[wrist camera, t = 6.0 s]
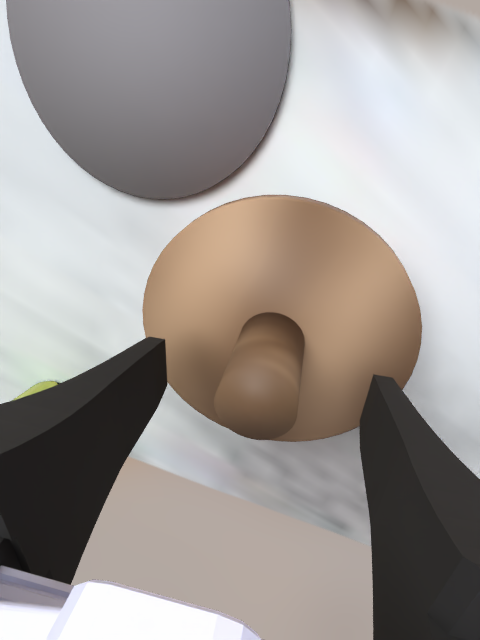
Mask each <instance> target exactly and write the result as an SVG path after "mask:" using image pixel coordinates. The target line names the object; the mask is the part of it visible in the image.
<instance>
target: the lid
mask: <svg viewBox="0 0 480 640" xmlns="http://www.w3.org/2000/svg"><path fill="white" fill-rule="evenodd" d="M143 325H144V330H145V335H146V338H147V337H155V338H161V339H165V343H166V365H167V382H168V383H169V384H170V386H171V387H172V388H173V389H174V390H175V391H176V393H177V394H178V395H179V396H180V397H181V398H182V399H183V400H184V401H186V402H187V403H188V404H189V405H190V406H192V407H193V408H194V409H195V410H197V411H198V412H200V413H201V414H203V415H204V416H206V417H207V418H209V419H210V420H212V421H214V422H216V423H218V424H220V425H222V426H224V427H226V428H229V429H230V430H232V431H233V432H235V433H237V434H239V435H241V436H244V437H247V438H251V439H256V440H274V441H290V442H297V441H311V440H317V439H323V438H328V437H331V436H335V435H339V434H342V433H344V432H347V431H349V430H352V429H354V428H356V427H358V426H360V418H361V414H362V411H363V407H364V404H365V401H366V397H367V394H368V391H369V387H370V384H371V381H372V377H373V374H374V375H380V376H386V377H392V378H393V379H394V380H395V381H396V383H397V384H398V385H399V387H400V388H401V390H402V389H403V388H404V386H405V385H406V383H407V381H408V380H409V378H410V376H411V374H412V372H413V369H414V367H415V364H416V362H417V359H418V355H419V350H420V346H421V334H422V323H421V313H420V307H419V304H418V300H417V296H416V293H415V290H414V288H413V286H412V284H411V281H410V279H409V277H408V275H407V273H406V271H405V269H404V267H403V265H402V263H401V262H400V260H399V259H398V257H397V256H396V254H395V253H394V251H393V250H392V249H391V248H390V247H389V245H388V244H387V243H386V242H385V241H384V240H383V239H382V238H381V237H380V236H379V235H378V234H377V233H376V232H375V231H373V230H372V229H371V228H370V227H369V226H367V225H366V224H365V223H364V222H362V221H360V220H359V219H357V218H355V217H354V216H352V215H351V214H349V213H347V212H345V211H343V210H341V209H338V208H336V207H334V206H331V205H329V204H327V203H323V202H320V201H316V200H312V199H309V198H304V197H297V196H289V195H262V196H255V197H247V198H243V199H239V200H236V201H232V202H229V203H226V204H223V205H221V206H219V207H217V208H214V209H212V210H210V211H208V212H207V213H205V214H203V215H202V216H200V217H199V218H197V219H196V220H194V221H193V222H191V223H190V224H189V225H188V226H187V227H185V228H184V229H183V230H182V231H181V232H180V233H178V234H177V235H176V236H175V237H174V238H173V239H172V240H171V241H170V243H169V244H168V245H167V246H166V247H165V248H164V250H163V251H162V252H161V254H160V256H159V257H158V259H157V261H156V262H155V264H154V266H153V268H152V271H151V273H150V275H149V278H148V281H147V285H146V289H145V293H144V301H143Z"/></svg>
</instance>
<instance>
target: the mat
mask: <svg viewBox="0 0 480 640" xmlns="http://www.w3.org/2000/svg"><path fill="white" fill-rule="evenodd" d="M6 4H7V19H8V26H9V32H10V39H11V44H12V48H13V52H14V56H15V60H16V64H17V67H18V70H19V73H20V76H21V78H22V81H23V84H24V86H25V89H26V91H27V93H28V95H29V98H30V100H31V102H32V104H33V106H34V108H35V110H36V111H37V113H38V115H39V117H40V119H41V120H42V122H43V124H44V125H45V126H46V128H47V129H48V131H49V132H50V134H51V135H52V137H53V138H54V139H55V140H56V142H57V143H58V144H59V145H60V146H61V148H62V149H63V150H64V151H65V152H66V153H67V154H68V155H69V156H70V157H71V158H72V159H73V160H74V161H75V162H76V163H77V164H78V165H79V166H80V167H82V168H83V169H84V170H85V171H87V172H88V173H89V174H91V175H92V176H93V177H95V178H97V179H98V180H100V181H101V182H103V183H105V184H106V185H109V186H111V187H113V188H115V189H117V190H119V191H122V192H125V193H128V194H131V195H134V196H139V197H144V198H150V199H172V198H181V197H185V196H189V195H193V194H196V193H198V192H201V191H203V190H206V189H208V188H210V187H212V186H214V185H215V184H217V183H218V182H220V181H222V180H223V179H225V178H227V177H228V176H229V175H230V174H232V173H233V172H234V171H235V170H236V169H238V168H239V167H240V166H241V165H242V164H243V163H244V162H245V161H246V159H247V158H248V157H249V156H250V155H251V154H252V153H253V151H254V150H255V149H256V147H257V146H258V144H259V143H260V142H261V140H262V139H263V137H264V135H265V133H266V132H267V130H268V128H269V126H270V124H271V122H272V120H273V118H274V115H275V113H276V110H277V108H278V105H279V103H280V100H281V96H282V93H283V89H284V85H285V82H286V77H287V71H288V64H289V58H290V43H291V19H290V3H289V0H6Z"/></svg>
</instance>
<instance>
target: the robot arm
mask: <svg viewBox="0 0 480 640" xmlns="http://www.w3.org/2000/svg"><path fill="white" fill-rule="evenodd" d="M166 387H167V365H166V343H165V339H161V338H155V337H147V338H145V339H144V340H142V341H140V342H138V343H136V344H135V345H133V346H131V347H130V348H128V349H126V350H124V351H123V352H121V353H119V354H117V355H116V356H114V357H112V358H110V359H109V360H107V361H105V362H103V363H101V364H99V365H98V366H96V367H94V368H92V369H90V370H88V371H86V372H84V373H82V374H80V375H78V376H76V377H74V378H72V379H69V380H67V381H65V382H63V383H60V384H58V385H55V386H53V387H50V388H48V389H45V390H43V391H40V392H37V393H34V394H31V395H28V396H25V397H22V398H19V399H16V400H13V401H10V402H6V403H3V404H0V640H263V639H260V637H259V635H258V634H257V632H255V631H254V630H253V629H251V628H250V627H249V626H248V625H246V624H245V623H244V622H243V621H242V620H239V619H237V618H235V617H232V616H230V615H227V614H225V613H223V612H220V611H217V610H213V609H210V608H206V607H202V606H199V605H195V604H192V603H188V602H185V601H180V600H177V599H173V598H170V597H166V596H162V595H159V594H155V593H151V592H148V591H145V590H141V589H137V588H134V587H130V586H127V585H123V584H119V583H116V582H111V581H103V580H96V579H92V580H89V581H87V582H84V583H81V584H78V585H76V586H73V585H71V582H72V580H73V578H74V575H75V572H76V569H77V567H78V565H79V562H80V560H81V557H82V554H83V552H84V550H85V547H86V545H87V543H88V540H89V538H90V535H91V533H92V531H93V528H94V526H95V524H96V521H97V519H98V517H99V515H100V512H101V510H102V508H103V505H104V503H105V501H106V499H107V496H108V495H109V492H110V490H111V488H112V486H113V484H114V482H115V480H116V478H117V475H118V473H119V471H120V469H121V468H122V466H123V464H124V462H125V460H126V459H127V457H128V455H129V454H130V452H131V450H132V449H133V447H134V446H135V444H136V442H137V441H138V439H139V437H140V436H141V434H142V432H143V431H144V429H145V428H146V426H147V424H148V423H149V421H150V419H151V418H152V416H153V414H154V413H155V411H156V409H157V407H158V405H159V403H160V401H161V398H162V396H163V394H164V391H165V389H166ZM360 452H361V459H362V466H363V473H364V480H365V487H366V494H367V501H368V508H369V515H370V525H371V545H372V570H373V571H372V574H373V628H374V630H373V640H480V479H479V478H478V477H477V476H476V475H474V474H473V473H472V472H471V471H470V470H469V469H468V468H467V467H466V466H465V465H464V464H463V463H462V462H461V461H460V460H459V459H458V458H457V457H456V456H455V455H454V454H453V453H452V452H451V451H450V449H449V448H448V447H447V446H446V445H445V444H444V443H443V442H442V440H441V439H440V438H439V437H438V436H437V435H436V434H435V432H434V431H433V430H432V429H431V428H430V427H429V425H428V424H427V423H426V422H425V420H424V419H423V418H422V417H421V415H420V414H419V413H418V411H417V410H416V409H415V407H414V406H413V405H412V403H411V402H410V401H409V399H408V398H407V397H406V395H405V394H404V392H403V391H402V390H401V388H400V387H399V385H398V384H397V383H396V381H395V380H394V379H393V378H392V377H386V376H380V375H374V374H373V377H372V381H371V384H370V387H369V391H368V394H367V397H366V401H365V404H364V407H363V411H362V414H361V418H360Z"/></svg>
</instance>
